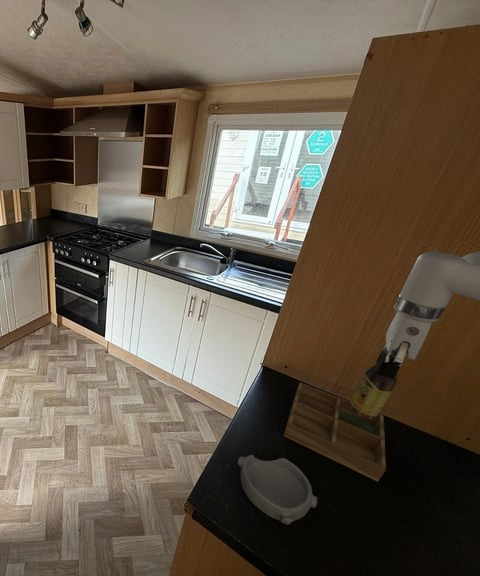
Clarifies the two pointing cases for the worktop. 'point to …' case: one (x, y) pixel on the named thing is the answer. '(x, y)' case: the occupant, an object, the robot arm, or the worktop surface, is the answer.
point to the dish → (276, 488)
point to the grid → (337, 431)
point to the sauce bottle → (372, 391)
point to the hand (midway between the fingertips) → (384, 370)
